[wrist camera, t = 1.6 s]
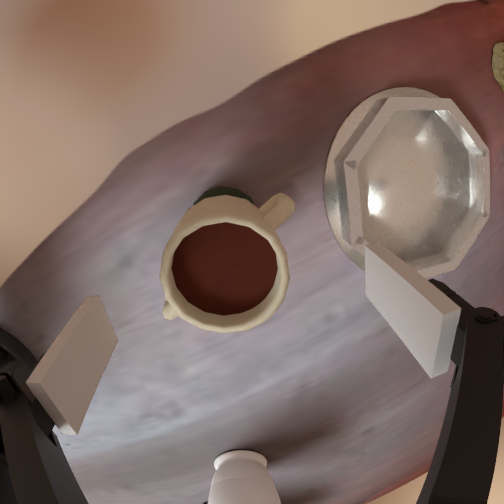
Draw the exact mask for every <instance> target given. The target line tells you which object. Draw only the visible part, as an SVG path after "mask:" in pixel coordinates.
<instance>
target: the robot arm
mask: <svg viewBox="0 0 504 504" xmlns="http://www.w3.org/2000/svg"><path fill="white" fill-rule="evenodd" d="M364 249H365V277H366V296H367V297H368V299H369V300H370V301H371V302H372V304H373V305H374V306H375V307H376V309H377V310H378V311H379V312H380V313H381V315H382V316H383V317H384V318H385V320H386V321H387V322H388V323H389V325H390V326H391V327H392V329H393V330H394V331H395V332H396V334H397V335H398V336H399V337H400V339H401V340H402V341H403V343H404V344H405V345H406V346H407V348H408V349H409V350H410V352H411V353H412V354H413V356H414V357H415V358H416V359H417V361H418V362H419V363H420V365H421V366H422V367H423V369H424V370H425V371H426V373H427V374H428V375H429V377H430V378H433V377H436V376H438V375H441V374H443V373H445V372H447V371H448V368H449V364H450V360H452V361H453V362H454V363H455V364H456V368H455V372H454V375H453V379H452V382H451V385H450V387H451V392H450V397H449V402H448V406H447V410H446V414H445V418H444V422H443V426H442V430H441V433H440V437H439V440H438V444H437V447H436V450H435V454H434V457H433V460H432V463H431V466H430V469H429V472H428V474H427V477H426V480H425V483H424V485H423V488H422V490H421V493H420V495H419V498H418V500H417V503H416V504H487V500H488V496H489V492H490V488H491V483H492V479H493V474H494V469H495V462H496V456H497V451H498V444H499V436H500V427H501V417H502V403H503V384H504V316H500V315H499V314H498V313H497V312H496V311H494V310H492V309H490V308H486V307H478V308H474V307H472V306H471V305H470V304H469V303H468V302H466V301H465V300H464V299H463V298H461V297H460V296H459V295H458V294H457V295H456V293H455V292H454V291H453V290H450V288H449V287H448V286H446V285H445V284H444V283H442V282H440V281H437V280H434V279H430V280H427V279H425V278H424V277H423V276H422V275H420V274H419V273H418V272H417V271H415V270H414V269H413V268H412V267H410V266H409V265H408V264H406V263H405V262H404V261H403V260H401V259H400V258H399V257H397V256H396V255H395V254H393V253H392V252H391V251H390V250H388V249H387V248H386V247H384V246H383V245H382V244H380V243H379V242H377V243H372V244H367V245H364ZM117 342H118V339H117V337H116V335H115V333H114V330H113V328H112V326H111V323H110V321H109V319H108V316H107V314H106V311H105V309H104V306H103V304H102V301H101V299H100V296H99V295H98V296H92V297H87V298H86V299H85V300H84V302H83V303H82V304H81V305H80V307H79V308H78V309H77V311H76V312H75V313H74V315H73V316H72V317H71V319H70V320H69V321H68V323H67V324H66V325H65V327H64V328H63V329H62V331H61V332H60V333H59V335H58V336H57V338H56V339H55V340H54V342H53V343H52V345H51V346H50V347H49V349H48V350H47V351H46V352H45V353H44V354H43V355H42V356H41V357H40V359H39V360H38V362H37V361H36V360H35V358H34V357H33V356H32V355H31V353H30V352H29V351H28V350H27V349H26V348H25V347H24V346H23V345H22V344H21V343H20V342H19V341H17V340H16V339H15V338H14V337H12V336H11V335H9V334H8V333H6V332H5V331H3V330H1V329H0V504H88V502H87V500H86V498H85V496H84V494H83V493H82V491H81V489H80V487H79V485H78V483H77V481H76V479H75V477H74V475H73V473H72V471H71V468H70V466H69V464H68V462H67V460H66V457H65V455H64V453H63V451H62V448H61V446H60V443H59V441H58V438H57V436H56V435H55V434H54V432H53V431H52V429H53V427H54V425H56V426H57V427H58V429H59V430H60V431H61V432H62V434H70V435H78V432H79V429H80V427H81V424H82V422H83V419H84V417H85V414H86V412H87V410H88V407H89V405H90V402H91V400H92V398H93V395H94V393H95V390H96V388H97V386H98V383H99V381H100V379H101V377H102V374H103V372H104V370H105V368H106V365H107V363H108V361H109V359H110V357H111V354H112V352H113V350H114V348H115V346H116V344H117Z"/></svg>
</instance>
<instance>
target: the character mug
mask: <svg viewBox="0 0 504 504" xmlns="http://www.w3.org/2000/svg"><path fill="white" fill-rule="evenodd" d="M294 211H295V204H294V201H293V200H292V199H291V198H290V197H289V196H287V195H286V194H284V193H278V194H275V195H274V196H273V197H271V198H270V199H269V200H268V201H267V202H266V203H265V204H263V205H262V206H261V207H260V208H257V207H256V206H255V205H254V203H253V202H252V200H251V198H250V197H248V196H247V195H245V194H244V193H242V192H241V191H239V190H237V189H232V188H225V187H219V188H216V189H213V190H209V191H206V192H205V193H204V194H203V195H202V196H201V197H200V198H199V199H198V200H197V201H196V202H194V205H193V206H192V207H191V208H189V209H188V210H187V211H186V213H185V214H184V216H183V217H182V219H181V220H180V222H179V223H178V225H177V226H176V228H175V230H174V232H173V234H172V236H171V238H170V240H169V241H168V243H167V245H166V247H165V249H164V252H163V257H162V264H161V271H160V280H161V284H162V287H163V291H164V294H165V297H166V302H165V305H164V308H163V315H164V317H165V319H168V320H172V319H174V318H175V317H177V316H178V315H179V316H180V317H181V318H182V319H184V320H186V321H188V322H189V323H191V324H193V325H195V326H197V327H199V328H200V329H204V330H210V331H215V332H220V333H229V332H238V331H245V330H248V329H250V328H253V327H255V326H258V325H260V324H261V323H263V322H264V321H266V320H268V319H269V318H270V317H271V316H272V315H273V314H274V313H275V312H276V311H277V309H278V308H279V306H280V305H281V303H282V302H283V300H284V298H285V295H286V291H287V287H288V283H289V279H290V277H289V269H288V261H287V253H286V251H285V249H284V247H283V246H282V244H281V242H280V240H279V238H278V236H277V234H276V232H275V230H276V229H277V228H278V227H279V226H280V225H281V224H282V223H283V222H285V221H286V220H287V219H288V218H289V217H290V216H291V215H292V214H293V212H294Z"/></svg>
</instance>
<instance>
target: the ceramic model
mask: <svg viewBox="0 0 504 504" xmlns="http://www.w3.org/2000/svg"><path fill="white" fill-rule="evenodd" d="M492 69H493V74H494V77H495V79H496V80H497V82H498V83H499V84H500V86H501V87H502V89H503V91H504V42H500V43H497V44H495V46H494V48H493V58H492Z"/></svg>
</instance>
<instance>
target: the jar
mask: <svg viewBox="0 0 504 504" xmlns="http://www.w3.org/2000/svg"><path fill="white" fill-rule="evenodd" d="M214 466H215V469H216V472H215V474H214V476H213V479H212V482H211V489H210V493H209V499H208V504H281V502H280V498H279V495H278V492H277V490H276V488H275V485H274V482H273V479H272V477H271V475H270V473H269V472H268V470H267V469H266V466H267V460H266V458H265V457H264V456H263V455H261V454H259V453H257V452H253V451H248V450H236V451H230V452H226V453H224V454H222V455H220V456H218V457H217V458H216V460H215V462H214Z"/></svg>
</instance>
